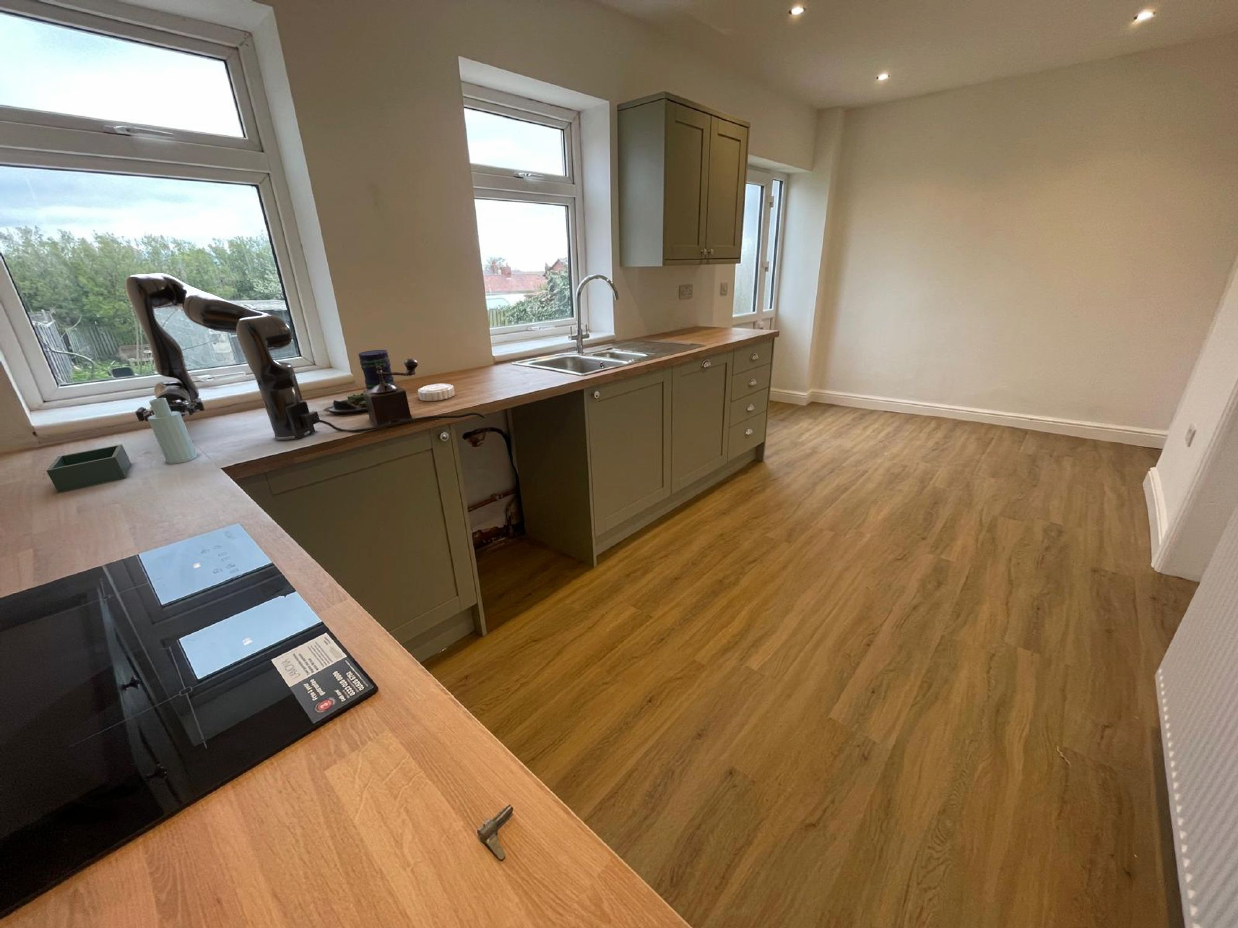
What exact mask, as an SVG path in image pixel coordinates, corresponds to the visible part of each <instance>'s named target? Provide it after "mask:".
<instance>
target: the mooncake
mask: <svg viewBox="0 0 1238 928" xmlns="http://www.w3.org/2000/svg"><path fill="white" fill-rule="evenodd" d="M417 393H418V399H419V400H421V401H422V402H423V401H424V402H437V401H443V400H447V399H451V398H452V397H454V396H455V388H454V385H452V384H450V383H445V382H444V383H434V384H428V385H424V386H423V387H420V388H418V390H417Z"/></svg>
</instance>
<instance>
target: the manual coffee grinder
mask: <svg viewBox="0 0 1238 928" xmlns="http://www.w3.org/2000/svg"><path fill="white" fill-rule="evenodd" d="M403 361H404V362H403V364H404V366H405V368H406V371H405V372H399V371H398V372H397V371H393V372H392V371H391V372H388V373H387V372H382V371H381V367H380V366H377V370H378V371H377V373H378V374H379V378H380V384H379V385H377V386H375V387H374V388H373V389H369V390H367V389H365V390H364V389H363V390H362V393H363V394H364V398H365V402H366V407H367V411H368V413H367V415H368V419H369V420H370V422H371V423H372V424H373V425H374V427H376V426H381V425H385V424H389V423H394V422H399V421H404V420H409V419H413V417H412V413H411V410H410V404H409V399H408V395H407V391H406V389H405V388H403V387H401V386H400V385H397V384H395V385H392V384H388V383H384V381H383V377H382V374H384V375H392V376H403V377H412V376H415V375H416V368H417V367H418V366H419V363H418V361H417V360H415V359H414V358H407V359H405V360H403Z"/></svg>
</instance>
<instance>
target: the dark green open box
mask: <svg viewBox="0 0 1238 928" xmlns="http://www.w3.org/2000/svg"><path fill="white" fill-rule="evenodd" d="M131 466H132V461H131V460H130V458H129V456H128V454H127V452H126V450H125V447H124V445H123V444H122V443H121V444H116V445H111V446H106V447H105V446H104V447H99V448H95V449H89V450H84V451H78V452H75V453H69V454H63V455H58V456H56V458H55V459H54V460H53V462H52V463H51V464H50V465H49V466H48V468H47V469H46V470H45V472H46V474H47V476H48V477H49V478H50V480H51V482H52V484H53V486H54V488H55V490H56V491H57V493H63V492H68V491H72V490H76V489H81V488H85V487H90V486H95V485H100V484H104V483H109V482H114V481H117V480H122V479H126V478H127V476H128V474H129V470H130V468H131Z"/></svg>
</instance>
